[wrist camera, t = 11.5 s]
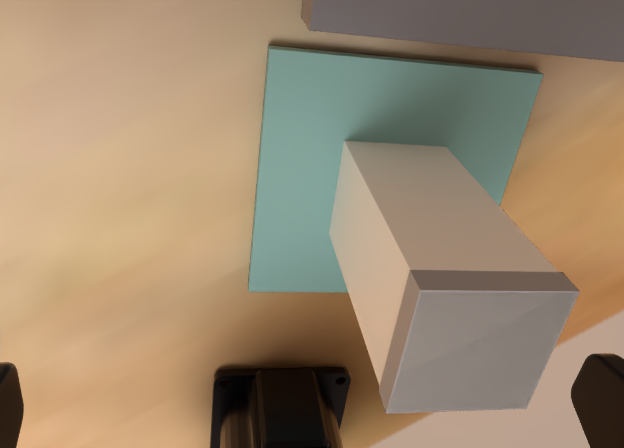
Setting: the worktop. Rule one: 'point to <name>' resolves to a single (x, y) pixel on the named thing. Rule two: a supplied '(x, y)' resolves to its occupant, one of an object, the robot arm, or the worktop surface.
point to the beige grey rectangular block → (442, 282)
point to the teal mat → (366, 128)
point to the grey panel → (482, 23)
